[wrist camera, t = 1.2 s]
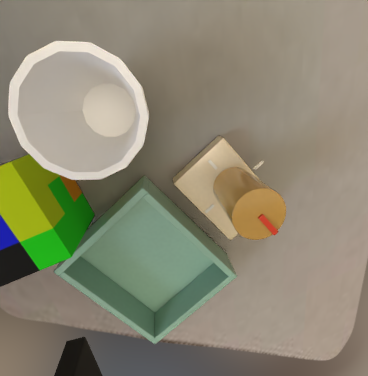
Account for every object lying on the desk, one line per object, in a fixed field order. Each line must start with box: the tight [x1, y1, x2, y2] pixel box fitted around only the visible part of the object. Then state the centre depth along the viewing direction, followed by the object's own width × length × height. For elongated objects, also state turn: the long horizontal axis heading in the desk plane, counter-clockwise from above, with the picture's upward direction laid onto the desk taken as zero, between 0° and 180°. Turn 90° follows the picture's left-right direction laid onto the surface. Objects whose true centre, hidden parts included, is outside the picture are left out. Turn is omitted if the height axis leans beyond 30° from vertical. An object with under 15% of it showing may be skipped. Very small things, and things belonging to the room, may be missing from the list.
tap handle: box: [213, 167, 286, 240], centre depth 28 cm, size 5×5×9 cm
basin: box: [54, 175, 237, 344], centre depth 34 cm, size 17×15×5 cm
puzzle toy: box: [0, 154, 95, 287], centre depth 28 cm, size 10×10×10 cm
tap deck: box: [173, 136, 264, 240], centre depth 34 cm, size 11×10×3 cm
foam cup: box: [8, 41, 149, 180], centre depth 25 cm, size 10×9×13 cm
